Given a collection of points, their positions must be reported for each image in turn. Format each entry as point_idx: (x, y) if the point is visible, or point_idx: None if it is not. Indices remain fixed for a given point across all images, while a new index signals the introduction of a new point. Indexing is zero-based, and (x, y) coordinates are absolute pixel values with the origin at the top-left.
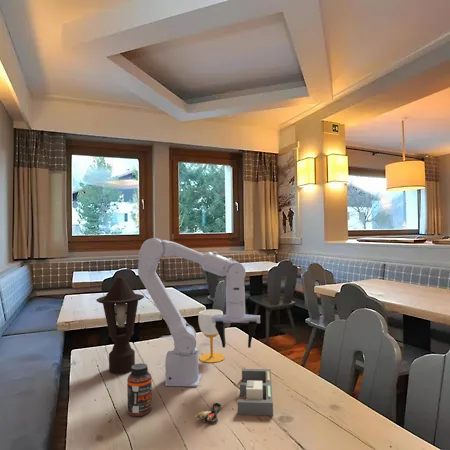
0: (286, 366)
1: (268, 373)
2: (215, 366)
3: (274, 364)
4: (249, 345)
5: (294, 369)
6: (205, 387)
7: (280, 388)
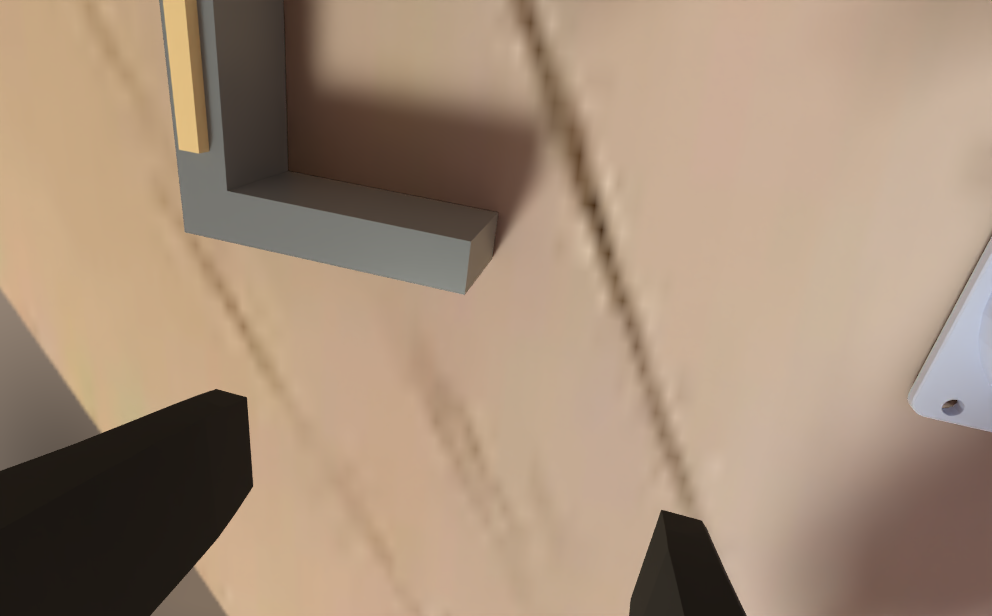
0: None
1: (181, 88)
2: None
3: None
4: (194, 406)
5: (97, 355)
6: (934, 106)
7: None
